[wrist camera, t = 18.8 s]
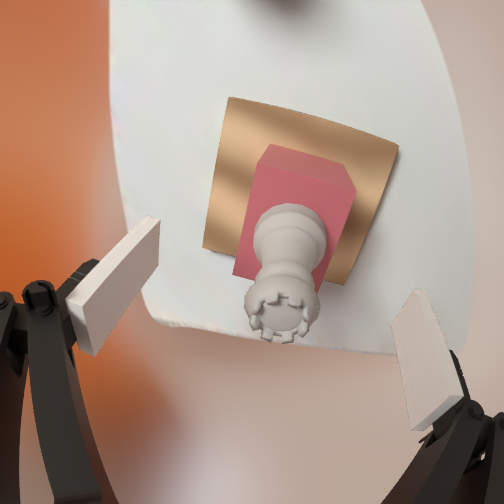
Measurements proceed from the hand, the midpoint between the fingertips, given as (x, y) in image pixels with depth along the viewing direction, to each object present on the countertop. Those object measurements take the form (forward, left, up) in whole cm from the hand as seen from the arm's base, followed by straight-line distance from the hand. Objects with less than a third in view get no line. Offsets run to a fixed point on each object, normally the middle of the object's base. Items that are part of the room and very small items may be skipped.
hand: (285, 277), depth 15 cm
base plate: (0, 0, -13) cm, 13 cm away
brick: (0, 0, -12) cm, 12 cm away
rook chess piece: (0, 0, -5) cm, 5 cm away
